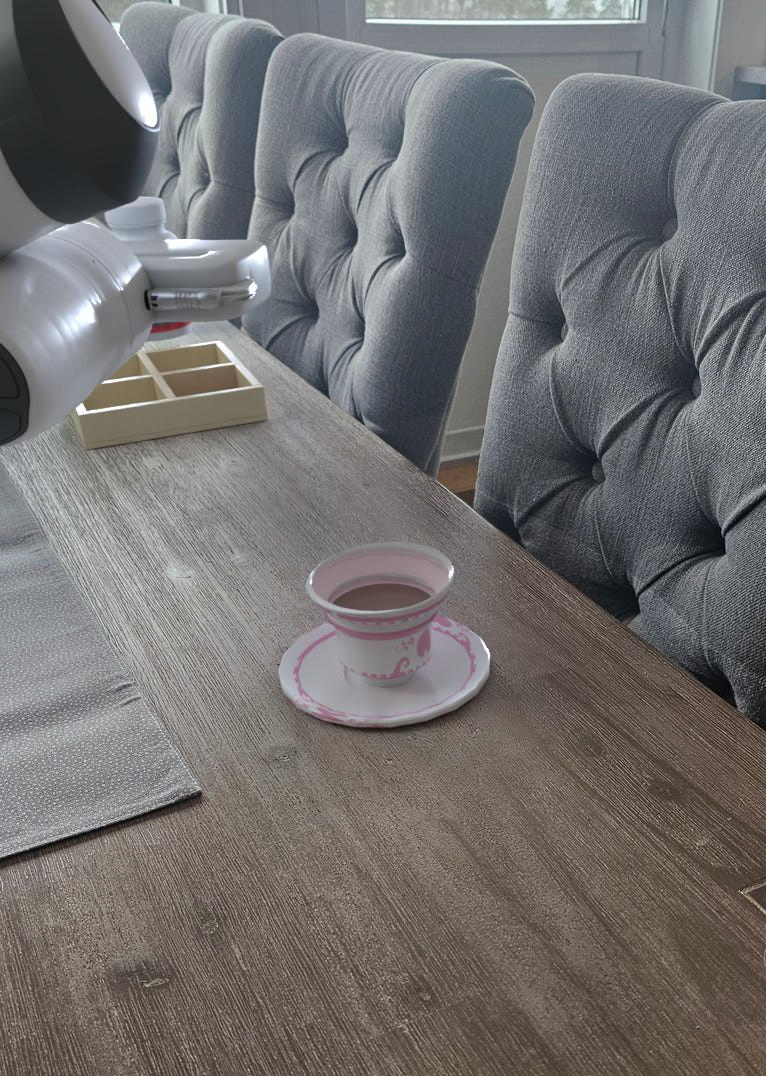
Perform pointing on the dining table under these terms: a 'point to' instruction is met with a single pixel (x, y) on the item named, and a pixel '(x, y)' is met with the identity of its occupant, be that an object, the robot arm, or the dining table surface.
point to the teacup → (383, 641)
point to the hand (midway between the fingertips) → (146, 251)
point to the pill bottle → (146, 225)
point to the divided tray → (170, 396)
